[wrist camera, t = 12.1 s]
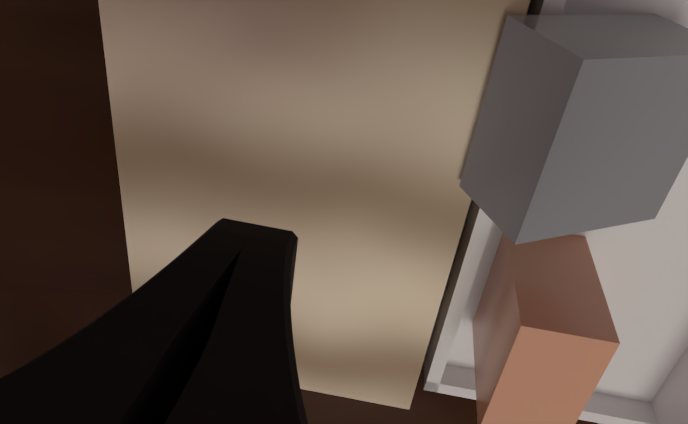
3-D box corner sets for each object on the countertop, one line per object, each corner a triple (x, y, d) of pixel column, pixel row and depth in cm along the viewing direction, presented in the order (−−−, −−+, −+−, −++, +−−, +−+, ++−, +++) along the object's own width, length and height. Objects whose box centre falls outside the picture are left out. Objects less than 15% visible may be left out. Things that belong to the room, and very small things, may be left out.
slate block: (589, 168, 17) (654, 218, 16) (459, 186, 16) (515, 244, 14) (655, 14, 15) (743, 52, 13) (507, 15, 13) (583, 60, 11)
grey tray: (654, 402, 23) (679, 473, 21) (424, 359, 24) (422, 424, 21) (943, -27, 14) (1049, 11, 11) (557, -87, 14) (580, -63, 12)
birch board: (411, 356, 24) (408, 409, 22) (165, 310, 24) (140, 357, 22) (535, -90, 14) (551, -71, 12) (131, -152, 15) (81, -145, 13)
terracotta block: (472, 323, 21) (541, 335, 21) (478, 431, 18) (562, 447, 18) (506, 223, 19) (585, 236, 19) (521, 325, 15) (620, 343, 15)
